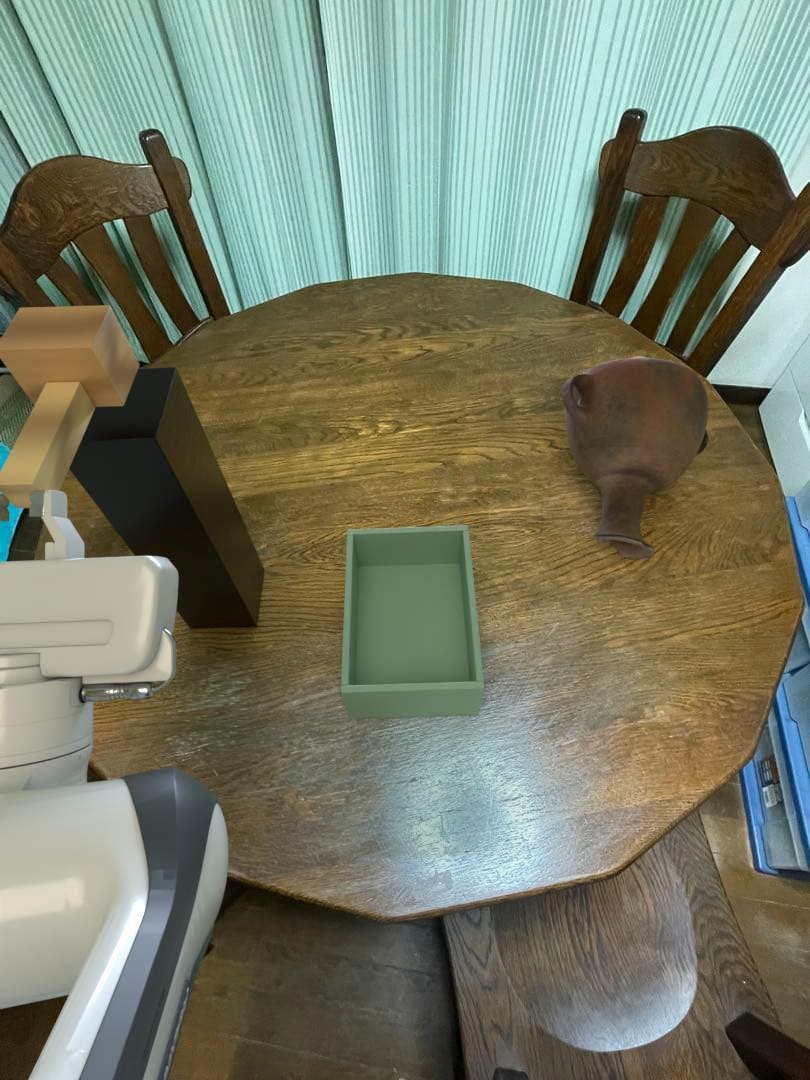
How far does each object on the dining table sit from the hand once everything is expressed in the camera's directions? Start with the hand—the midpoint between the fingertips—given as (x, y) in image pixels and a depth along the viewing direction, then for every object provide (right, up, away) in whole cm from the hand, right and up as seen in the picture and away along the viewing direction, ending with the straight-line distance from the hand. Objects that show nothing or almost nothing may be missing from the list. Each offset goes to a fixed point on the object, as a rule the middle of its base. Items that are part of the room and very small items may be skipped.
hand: (18, 492), depth 39 cm
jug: (+58, +4, +51) cm, 77 cm away
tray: (+27, -16, +38) cm, 49 cm away
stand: (+1, -11, +42) cm, 44 cm away
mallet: (0, +5, +5) cm, 7 cm away
